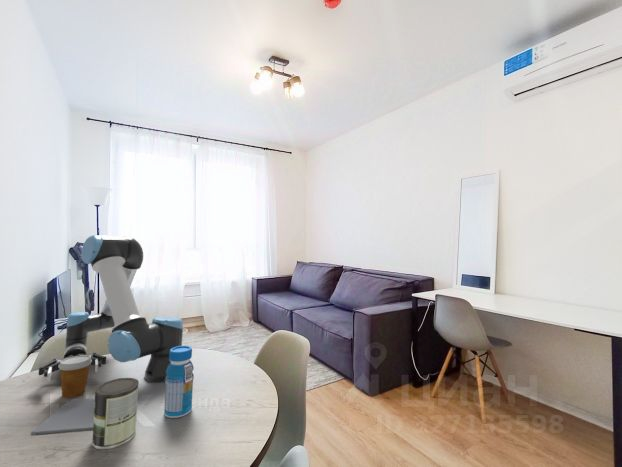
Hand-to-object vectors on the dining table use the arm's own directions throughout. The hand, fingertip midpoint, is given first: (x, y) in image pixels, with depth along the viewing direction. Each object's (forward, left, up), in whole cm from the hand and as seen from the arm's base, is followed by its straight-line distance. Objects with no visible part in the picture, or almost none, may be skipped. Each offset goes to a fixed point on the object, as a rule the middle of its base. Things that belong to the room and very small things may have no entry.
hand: (73, 372), depth 108 cm
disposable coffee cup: (-1, +2, -7) cm, 7 cm away
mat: (-12, +17, -7) cm, 22 cm away
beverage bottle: (-40, +20, -7) cm, 45 cm away
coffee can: (-26, +31, -7) cm, 41 cm away
